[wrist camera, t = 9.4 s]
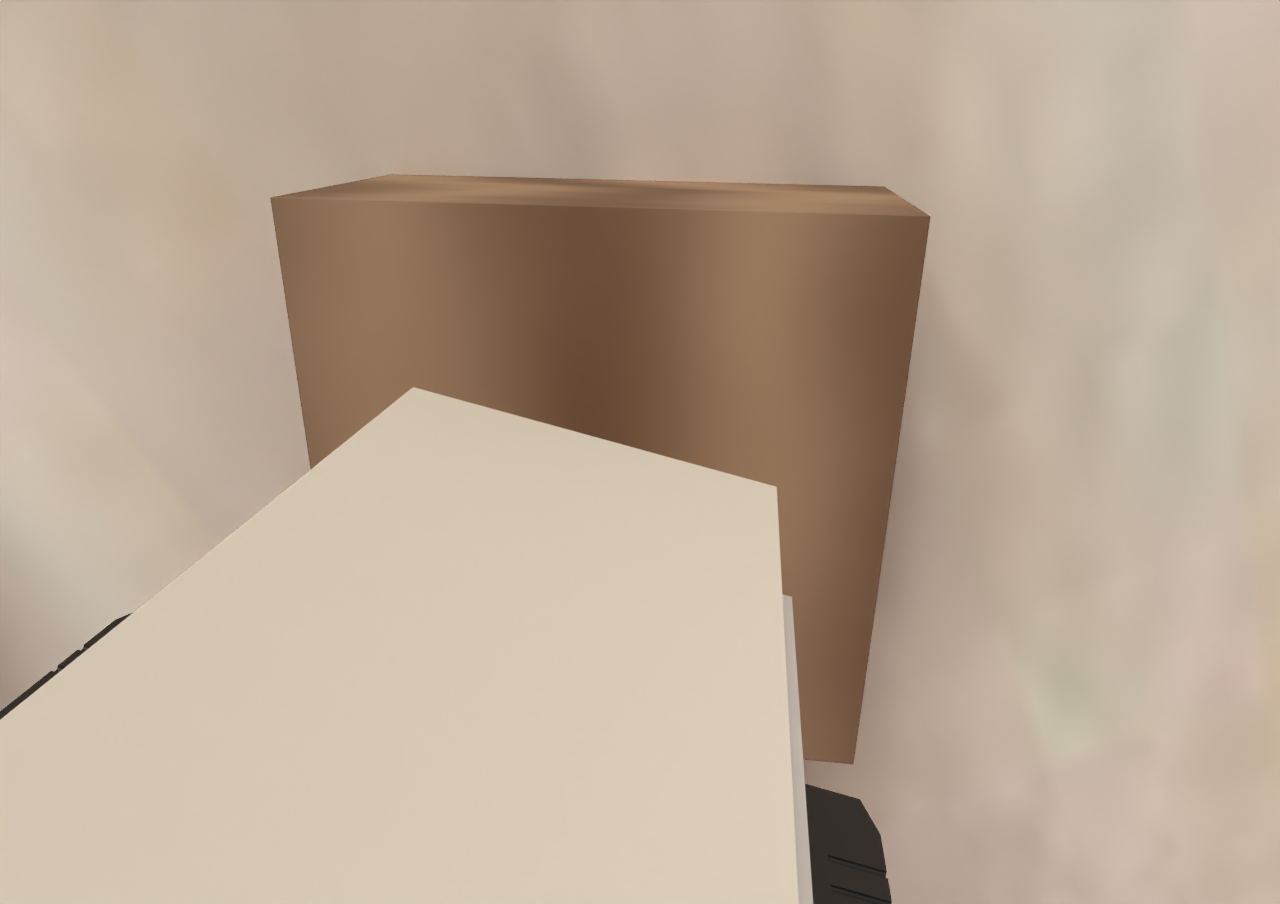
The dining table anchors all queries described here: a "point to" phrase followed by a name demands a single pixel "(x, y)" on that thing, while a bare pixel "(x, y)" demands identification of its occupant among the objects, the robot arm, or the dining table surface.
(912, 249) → the walnut block
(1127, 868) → the dining table surface
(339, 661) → the cream block
